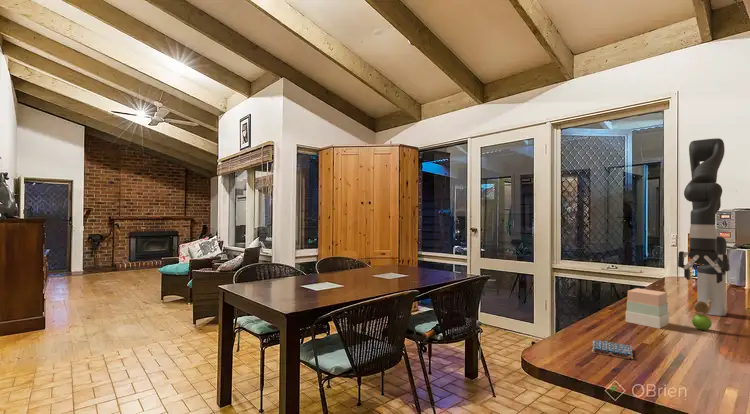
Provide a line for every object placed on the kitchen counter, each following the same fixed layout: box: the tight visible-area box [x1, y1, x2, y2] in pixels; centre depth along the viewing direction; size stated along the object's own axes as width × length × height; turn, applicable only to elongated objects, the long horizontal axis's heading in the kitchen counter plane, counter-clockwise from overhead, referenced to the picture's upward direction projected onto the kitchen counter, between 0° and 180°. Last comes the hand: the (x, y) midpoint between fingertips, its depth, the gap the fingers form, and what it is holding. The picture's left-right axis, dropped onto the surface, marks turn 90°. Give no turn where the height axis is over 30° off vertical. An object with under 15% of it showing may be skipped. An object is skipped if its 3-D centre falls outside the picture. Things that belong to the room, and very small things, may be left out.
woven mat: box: [591, 338, 634, 360], centre depth 114 cm, size 10×11×2 cm
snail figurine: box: [691, 297, 713, 331], centre depth 138 cm, size 5×6×12 cm
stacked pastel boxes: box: [625, 287, 670, 329], centre depth 147 cm, size 11×11×12 cm
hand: (702, 281), depth 139 cm, fingers open, 8 cm apart
